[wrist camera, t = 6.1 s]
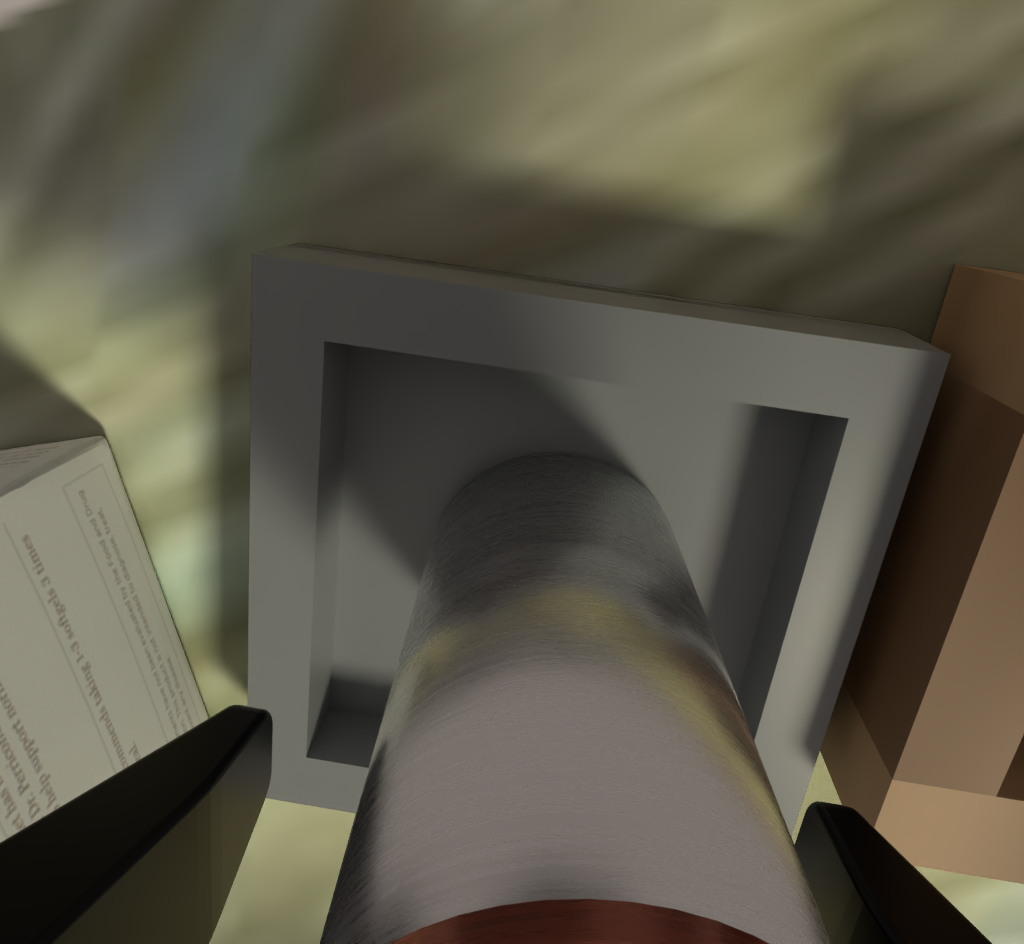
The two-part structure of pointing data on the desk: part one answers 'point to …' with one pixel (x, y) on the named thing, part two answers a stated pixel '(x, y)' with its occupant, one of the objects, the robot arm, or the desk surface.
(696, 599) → the grey and red cylinder
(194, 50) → the desk surface
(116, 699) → the supplement box
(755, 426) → the tray
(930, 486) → the socket block
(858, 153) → the desk surface
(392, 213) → the desk surface
